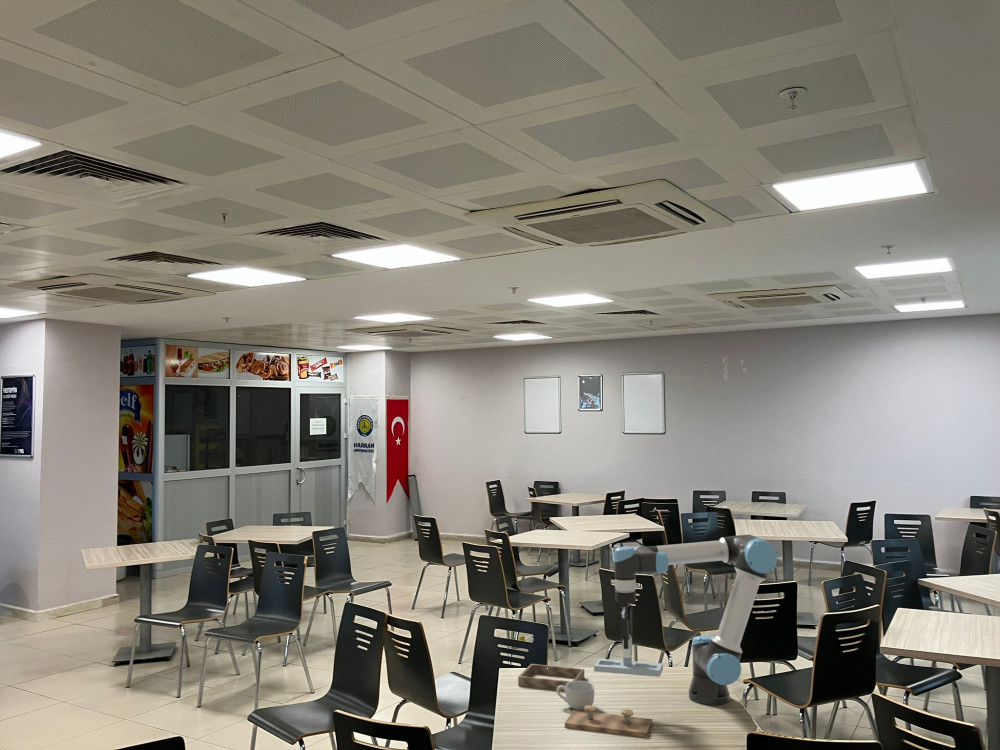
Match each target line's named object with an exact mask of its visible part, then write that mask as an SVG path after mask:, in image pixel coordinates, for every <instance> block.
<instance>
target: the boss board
mask: <svg viewBox="0 0 1000 750" xmlns="http://www.w3.org/2000/svg"><path fill="white" fill-rule="evenodd" d="M596 710H597V707H596V706H595V705H593V704H592V705H587V706H585V707H584V710H575V709H573V710H572V711H571V714H570V715H569V716H568V718H567V719H566V721H565V722H564V728H566V729H567V728H568V729H573V730H574V729H576V730H583V731H589V732H590V731H591V732H597V733H598V732H600V733H607V734H613V735H614V734H615V735H623V736H629V737H638V738H648V735H649V732H651V731H650V730H651V727H652V725H653V719H652V718H647V717H646V718H645V717H644V718H643V717H636V716H634V710H631V709H623V710H621V712H620V713H621V714H611V713H601V712H596Z"/></svg>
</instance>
